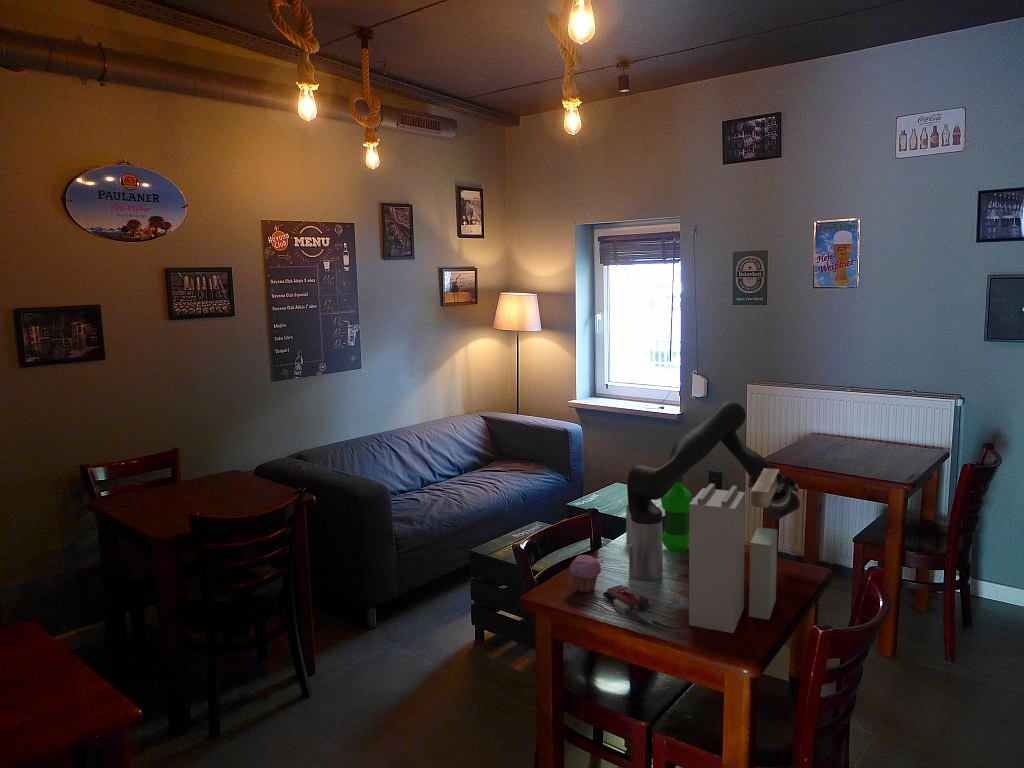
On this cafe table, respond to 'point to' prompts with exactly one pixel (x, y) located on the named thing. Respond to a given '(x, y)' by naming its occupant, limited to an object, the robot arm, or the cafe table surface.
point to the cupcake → (585, 572)
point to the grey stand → (716, 558)
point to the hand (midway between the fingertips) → (769, 475)
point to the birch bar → (764, 488)
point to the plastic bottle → (676, 517)
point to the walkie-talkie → (627, 601)
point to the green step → (762, 573)
